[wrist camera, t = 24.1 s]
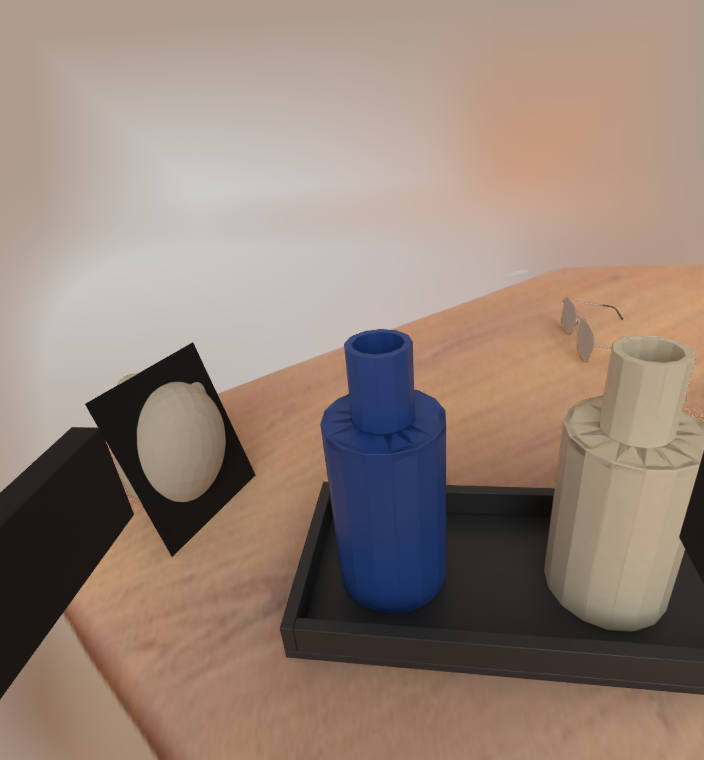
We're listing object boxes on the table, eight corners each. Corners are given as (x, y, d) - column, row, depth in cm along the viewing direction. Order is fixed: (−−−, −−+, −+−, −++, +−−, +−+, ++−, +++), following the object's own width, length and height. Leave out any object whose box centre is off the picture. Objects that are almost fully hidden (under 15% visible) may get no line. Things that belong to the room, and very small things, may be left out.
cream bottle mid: (685, 592, 32) (765, 347, 24) (627, 661, 28) (698, 402, 20) (582, 531, 36) (620, 312, 29) (522, 584, 33) (546, 351, 25)
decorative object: (114, 547, 42) (199, 474, 49) (197, 560, 36) (279, 475, 44) (30, 410, 38) (137, 353, 45) (109, 400, 32) (217, 337, 39)
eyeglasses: (557, 320, 69) (563, 292, 67) (621, 323, 68) (628, 294, 66) (588, 370, 56) (596, 336, 54) (665, 373, 56) (676, 339, 54)
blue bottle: (467, 572, 33) (474, 340, 26) (388, 635, 30) (368, 389, 22) (397, 517, 38) (385, 308, 31) (321, 566, 35) (286, 344, 27)
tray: (876, 527, 35) (892, 498, 33) (1077, 728, 24) (1112, 695, 22) (326, 506, 41) (323, 481, 40) (286, 657, 30) (279, 628, 29)
